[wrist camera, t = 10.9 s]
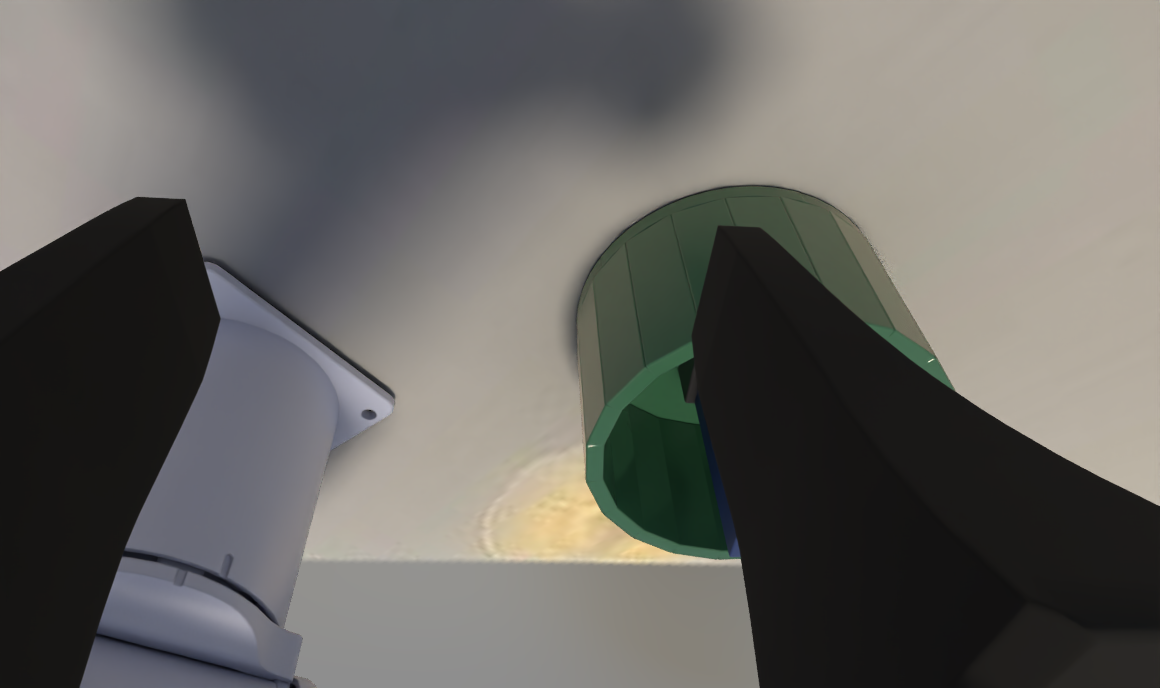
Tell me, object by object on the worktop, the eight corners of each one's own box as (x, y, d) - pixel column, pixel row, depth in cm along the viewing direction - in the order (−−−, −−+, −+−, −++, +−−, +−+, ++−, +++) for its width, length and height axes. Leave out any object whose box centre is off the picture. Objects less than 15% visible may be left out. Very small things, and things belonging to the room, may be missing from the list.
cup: (675, 455, 30) (700, 593, 25) (514, 298, 24) (510, 440, 20) (921, 336, 26) (1002, 473, 22) (798, 119, 21) (872, 243, 16)
